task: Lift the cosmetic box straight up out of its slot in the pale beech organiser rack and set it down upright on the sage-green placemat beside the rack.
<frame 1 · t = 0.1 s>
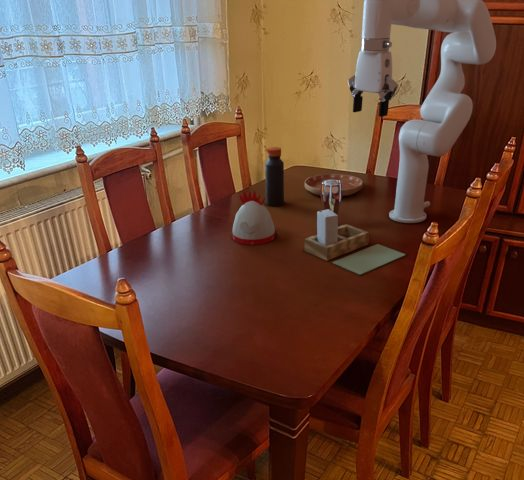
hand: (369, 113, 156), 37 cm above the table, tool pointing down, fingers open, 9 cm apart
bottle: (274, 204, 204), on the table
beer glass: (329, 227, 183), on the table
cosmetic box: (326, 251, 166), resting in rack
placemat: (369, 259, 160), on the table
kitchen timer: (253, 236, 178), on the table
shallow brown bowl: (333, 191, 216), on the table
rack: (336, 247, 168), on the table
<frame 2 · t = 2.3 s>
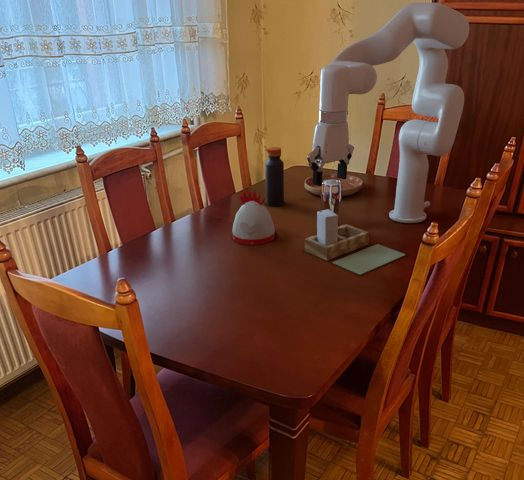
hand: (329, 181, 154), 21 cm above the table, tool pointing down, fingers open, 9 cm apart
nothing on the table moved.
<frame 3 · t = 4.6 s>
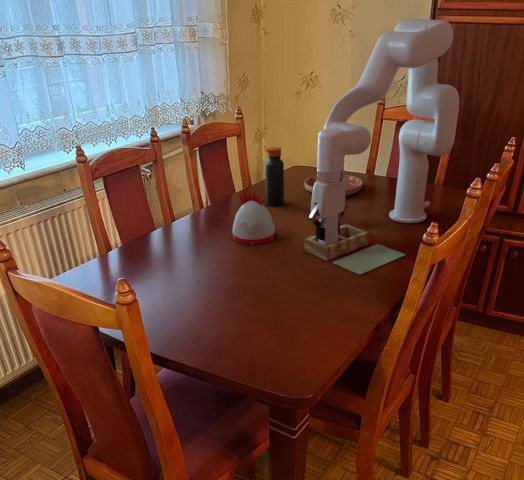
hand: (327, 235, 163), 5 cm above the table, tool pointing down, fingers closed on cosmetic box, 5 cm apart
cosmetic box: (326, 251, 166), resting in rack, touching gripper
everything else where it was.
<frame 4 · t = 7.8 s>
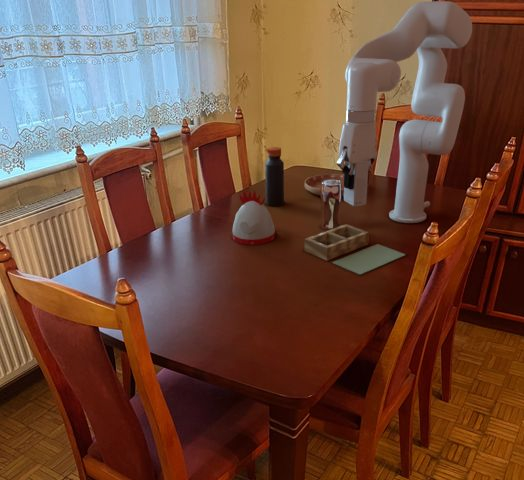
hand: (356, 185, 151), 21 cm above the table, tool pointing down, fingers closed on cosmetic box, 5 cm apart
cosmetic box: (354, 203, 154), point 16 cm above the table, touching gripper
everything else where it was.
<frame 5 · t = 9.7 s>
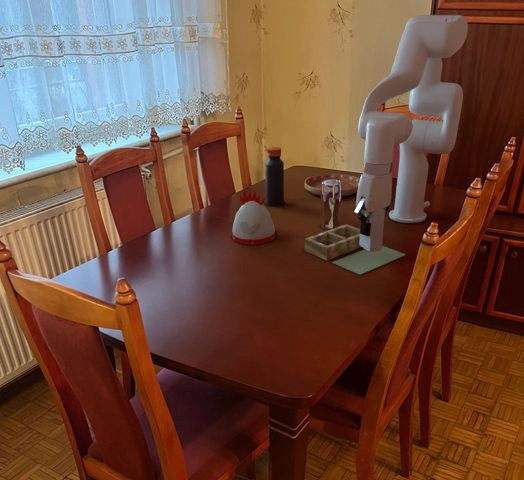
hand: (371, 231, 156), 9 cm above the table, tool pointing down, fingers closed on cosmetic box, 5 cm apart
cosmetic box: (369, 248, 159), point 3 cm above the table, touching gripper
everything else where it was.
when the fingers open (5 cm above the table, at t = 11.1 s): cosmetic box stays where it is, resting on placemat.
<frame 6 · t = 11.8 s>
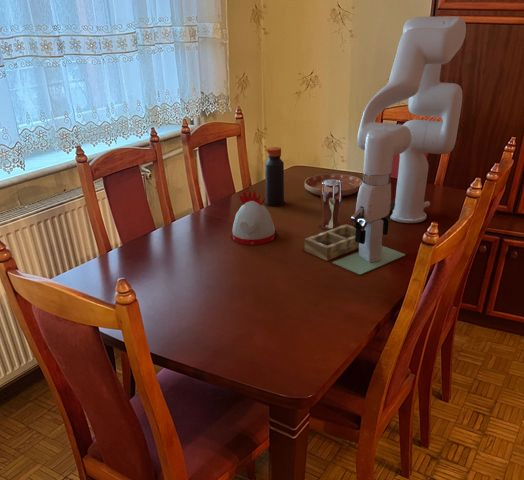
hand: (371, 238, 157), 7 cm above the table, tool pointing down, fingers open, 9 cm apart
cosmetic box: (368, 258, 160), resting on placemat
everything else where it was.
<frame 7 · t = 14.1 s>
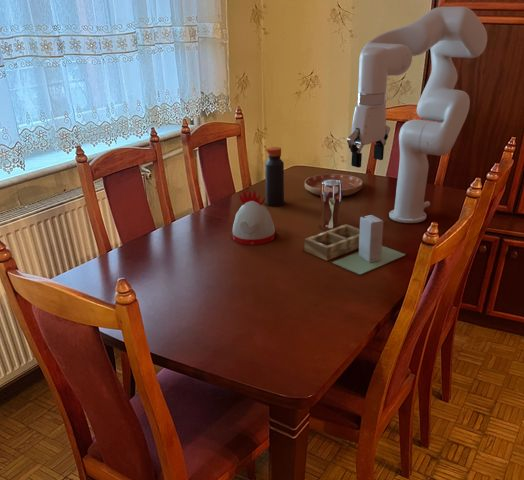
hand: (367, 162, 158), 24 cm above the table, tool pointing down, fingers open, 9 cm apart
nothing on the table moved.
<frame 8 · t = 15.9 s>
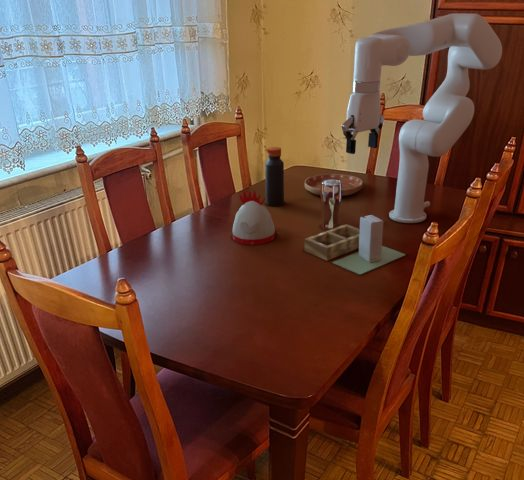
hand: (361, 150, 163), 26 cm above the table, tool pointing down, fingers open, 9 cm apart
nothing on the table moved.
at the end: cosmetic box inside the target area on the placemat (0.2 cm from its centre), point 0.1 cm above the placemat's base; cosmetic box tilted 0°; cosmetic box touching placemat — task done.
